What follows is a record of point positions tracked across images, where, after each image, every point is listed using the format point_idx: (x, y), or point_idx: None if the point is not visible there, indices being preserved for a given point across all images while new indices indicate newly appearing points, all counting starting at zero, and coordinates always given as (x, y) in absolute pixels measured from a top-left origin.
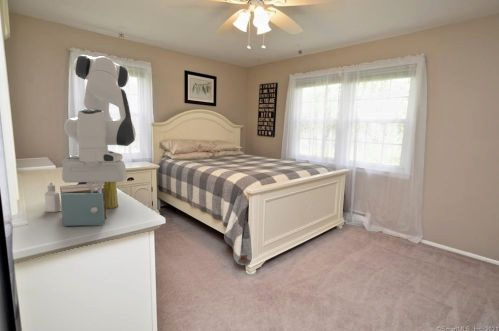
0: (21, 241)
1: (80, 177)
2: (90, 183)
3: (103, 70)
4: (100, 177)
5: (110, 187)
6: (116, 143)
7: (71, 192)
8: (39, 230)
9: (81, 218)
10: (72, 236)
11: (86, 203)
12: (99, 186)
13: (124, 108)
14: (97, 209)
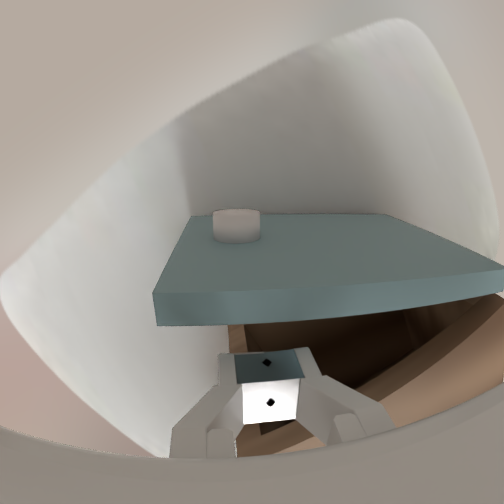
0: (445, 85)
1: (502, 441)
2: (345, 432)
3: None
4: None
5: None
6: None
7: (462, 335)
8: (447, 189)
9: (316, 220)
10: (291, 87)
11: (310, 251)
12: (215, 414)
13: None
14: (213, 229)
